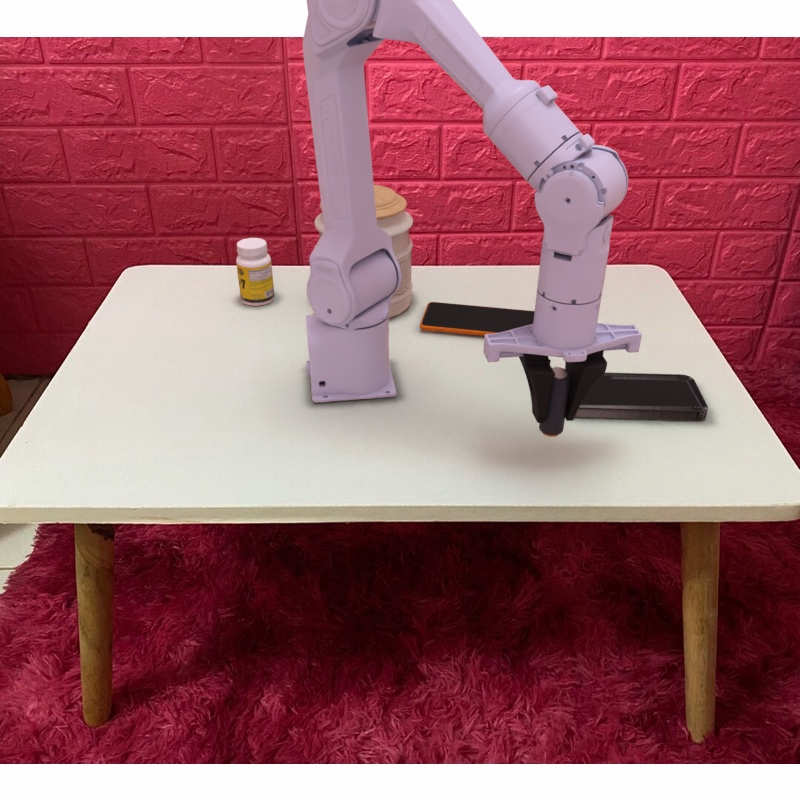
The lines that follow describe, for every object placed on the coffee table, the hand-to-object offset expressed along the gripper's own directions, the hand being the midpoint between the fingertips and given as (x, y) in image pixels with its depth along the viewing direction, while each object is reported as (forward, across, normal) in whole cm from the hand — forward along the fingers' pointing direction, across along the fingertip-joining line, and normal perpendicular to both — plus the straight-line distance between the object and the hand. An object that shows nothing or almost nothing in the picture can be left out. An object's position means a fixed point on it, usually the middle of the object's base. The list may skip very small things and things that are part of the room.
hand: (552, 416), depth 76 cm
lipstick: (+2, 0, 0) cm, 2 cm away
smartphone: (+4, 0, +28) cm, 28 cm away
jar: (+5, -15, +37) cm, 40 cm away
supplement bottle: (+5, -30, +40) cm, 50 cm away
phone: (+4, +12, +8) cm, 15 cm away
